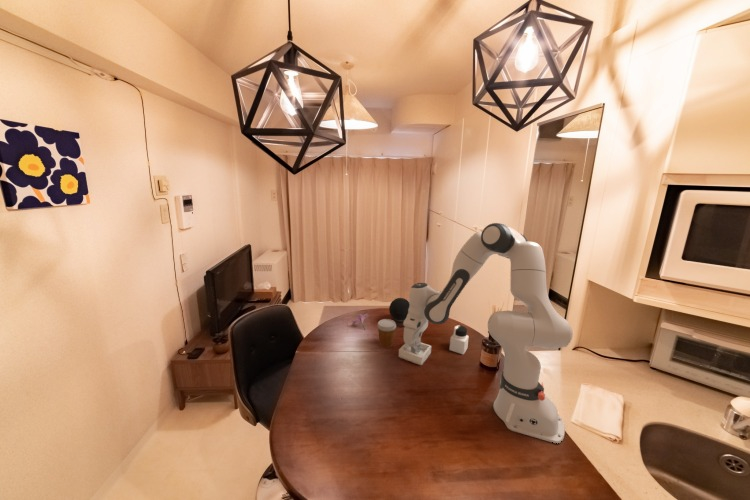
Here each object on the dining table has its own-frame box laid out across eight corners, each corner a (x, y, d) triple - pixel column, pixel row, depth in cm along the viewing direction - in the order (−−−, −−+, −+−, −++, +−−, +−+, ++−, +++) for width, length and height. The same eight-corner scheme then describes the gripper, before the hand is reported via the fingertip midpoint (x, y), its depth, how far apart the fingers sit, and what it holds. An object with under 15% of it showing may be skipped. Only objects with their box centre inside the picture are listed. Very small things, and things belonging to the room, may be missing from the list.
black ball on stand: (384, 322, 168) (384, 298, 165) (397, 315, 178) (398, 292, 175) (402, 330, 160) (403, 305, 157) (415, 322, 170) (416, 298, 166)
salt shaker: (413, 346, 140) (414, 327, 138) (421, 349, 138) (422, 329, 135) (409, 351, 136) (410, 331, 134) (417, 354, 134) (419, 333, 132)
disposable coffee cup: (383, 337, 152) (384, 316, 150) (398, 343, 147) (400, 322, 144) (372, 345, 145) (373, 323, 142) (388, 352, 140) (389, 329, 137)
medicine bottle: (467, 348, 145) (470, 326, 142) (463, 355, 139) (466, 332, 136) (453, 343, 148) (455, 322, 146) (449, 350, 143) (451, 328, 140)
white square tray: (430, 353, 140) (431, 345, 139) (421, 365, 130) (421, 357, 129) (409, 345, 146) (409, 338, 145) (398, 357, 136) (398, 349, 135)
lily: (373, 325, 168) (367, 309, 169) (374, 327, 156) (368, 310, 157) (353, 332, 166) (348, 316, 167) (353, 335, 155) (347, 317, 156)
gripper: (420, 307, 143) (418, 332, 147) (401, 323, 126) (400, 351, 130) (432, 310, 140) (430, 336, 143) (414, 327, 123) (412, 356, 126)
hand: (415, 343), depth 136 cm, fingers closed on salt shaker, 4 cm apart
